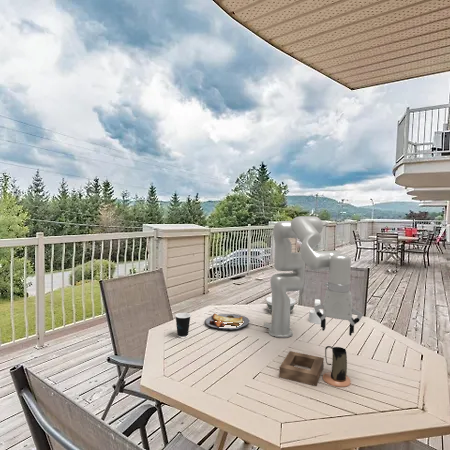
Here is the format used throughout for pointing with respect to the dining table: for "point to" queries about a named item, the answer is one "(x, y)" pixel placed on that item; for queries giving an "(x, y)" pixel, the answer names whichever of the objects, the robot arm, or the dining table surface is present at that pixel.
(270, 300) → the bowl
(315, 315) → the cylinder with rectangular tab
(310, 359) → the frame
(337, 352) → the mug
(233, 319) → the food plate
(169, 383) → the dining table surface
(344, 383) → the peach smooth round part
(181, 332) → the dixie cup
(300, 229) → the robot arm
